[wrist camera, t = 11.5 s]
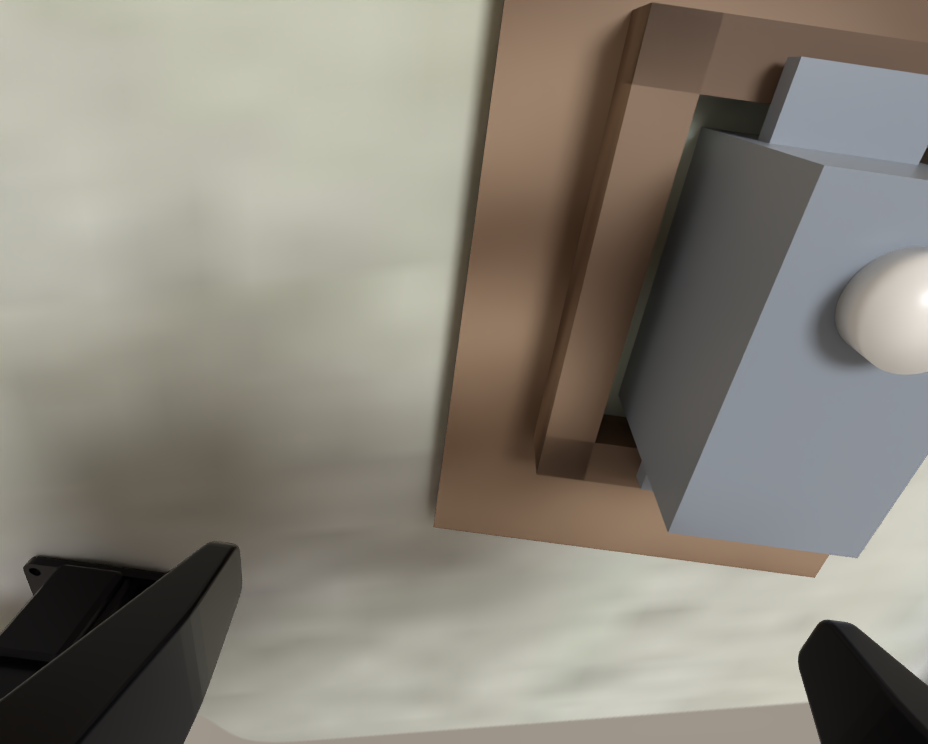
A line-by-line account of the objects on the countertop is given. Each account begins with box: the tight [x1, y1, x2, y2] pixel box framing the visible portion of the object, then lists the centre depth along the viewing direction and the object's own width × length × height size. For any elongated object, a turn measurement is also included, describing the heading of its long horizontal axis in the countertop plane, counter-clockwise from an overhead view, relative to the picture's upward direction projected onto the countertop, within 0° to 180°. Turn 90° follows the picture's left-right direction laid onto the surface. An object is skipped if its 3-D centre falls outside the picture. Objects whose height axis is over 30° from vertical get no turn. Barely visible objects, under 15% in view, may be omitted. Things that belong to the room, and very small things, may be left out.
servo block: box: [618, 56, 928, 558], centre depth 13 cm, size 11×4×7 cm, turn 173°
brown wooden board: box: [434, 0, 928, 578], centre depth 16 cm, size 22×15×3 cm
